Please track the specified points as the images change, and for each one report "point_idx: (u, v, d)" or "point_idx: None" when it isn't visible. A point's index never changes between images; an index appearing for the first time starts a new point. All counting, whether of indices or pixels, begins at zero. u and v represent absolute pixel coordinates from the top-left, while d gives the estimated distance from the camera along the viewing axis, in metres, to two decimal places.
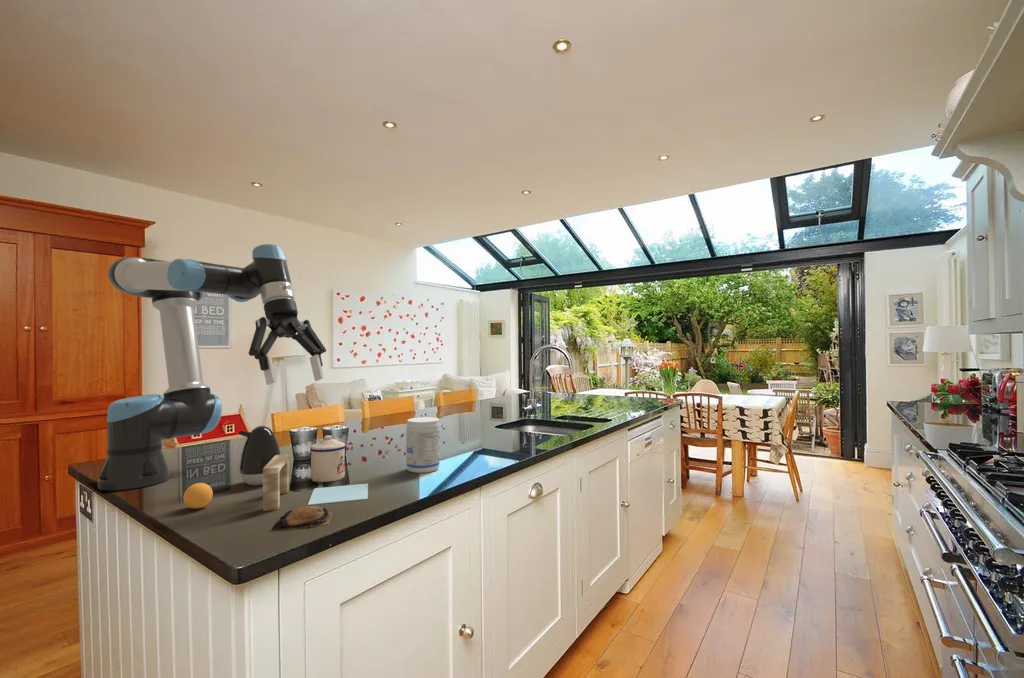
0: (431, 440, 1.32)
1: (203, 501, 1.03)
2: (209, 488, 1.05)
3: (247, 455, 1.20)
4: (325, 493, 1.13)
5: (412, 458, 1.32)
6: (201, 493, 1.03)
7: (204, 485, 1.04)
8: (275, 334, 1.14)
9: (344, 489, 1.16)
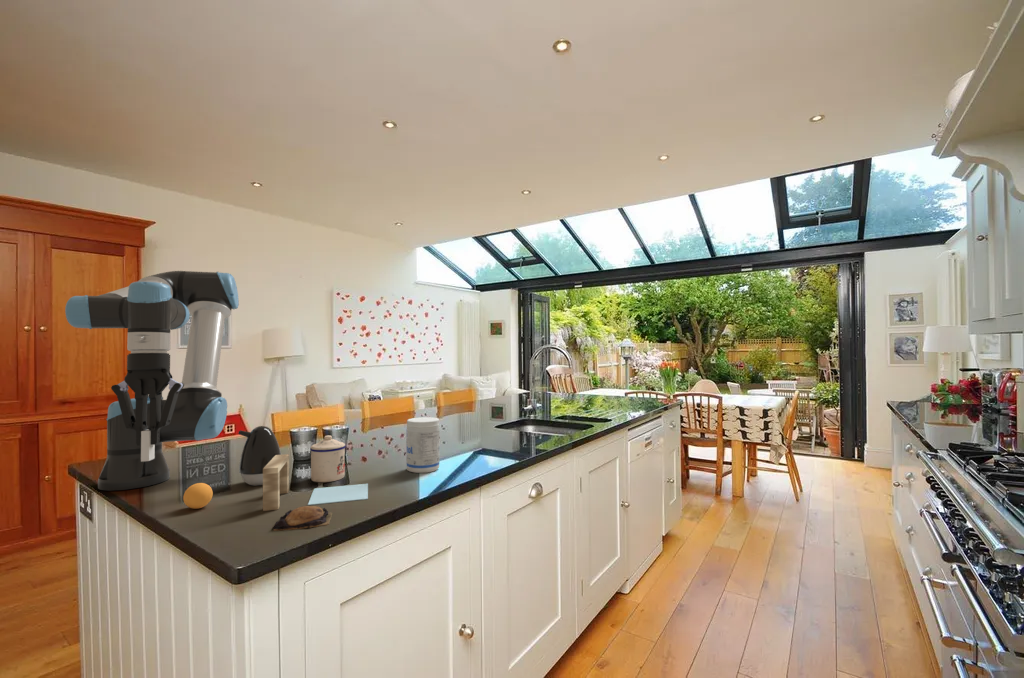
0: (431, 440, 1.32)
1: (203, 501, 1.03)
2: (209, 488, 1.05)
3: (247, 455, 1.20)
4: (325, 493, 1.13)
5: (412, 458, 1.32)
6: (201, 493, 1.03)
7: (204, 485, 1.04)
8: (137, 400, 1.00)
9: (344, 489, 1.16)
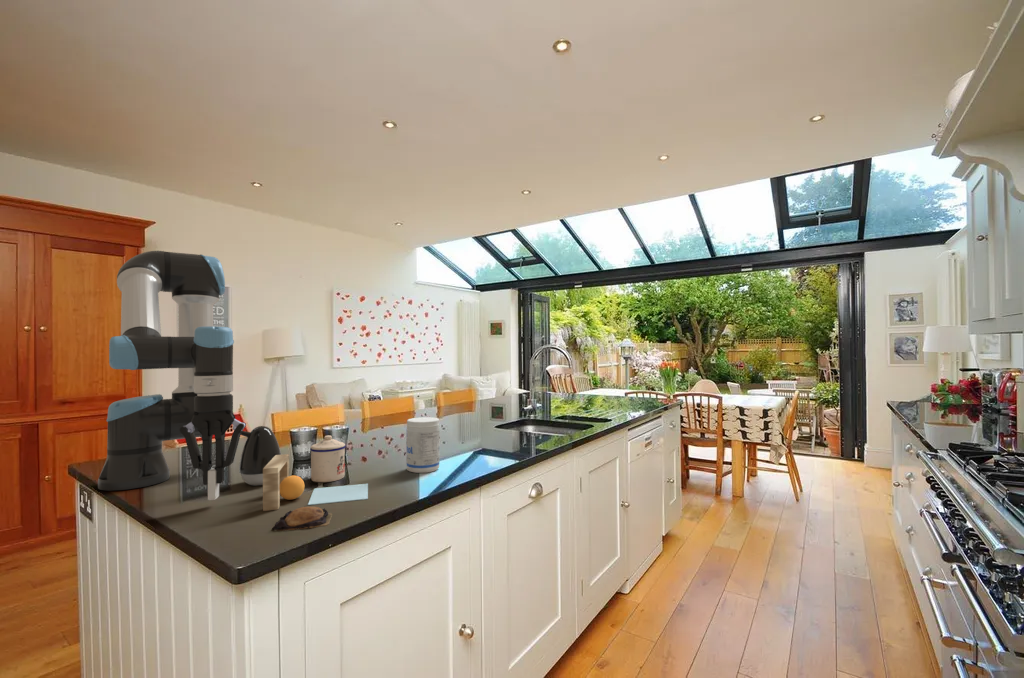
0: (431, 440, 1.32)
1: (295, 496, 1.08)
2: (304, 485, 1.10)
3: (247, 455, 1.20)
4: (325, 493, 1.13)
5: (412, 458, 1.32)
6: (297, 488, 1.08)
7: (302, 481, 1.10)
8: (204, 441, 1.04)
9: (344, 489, 1.16)
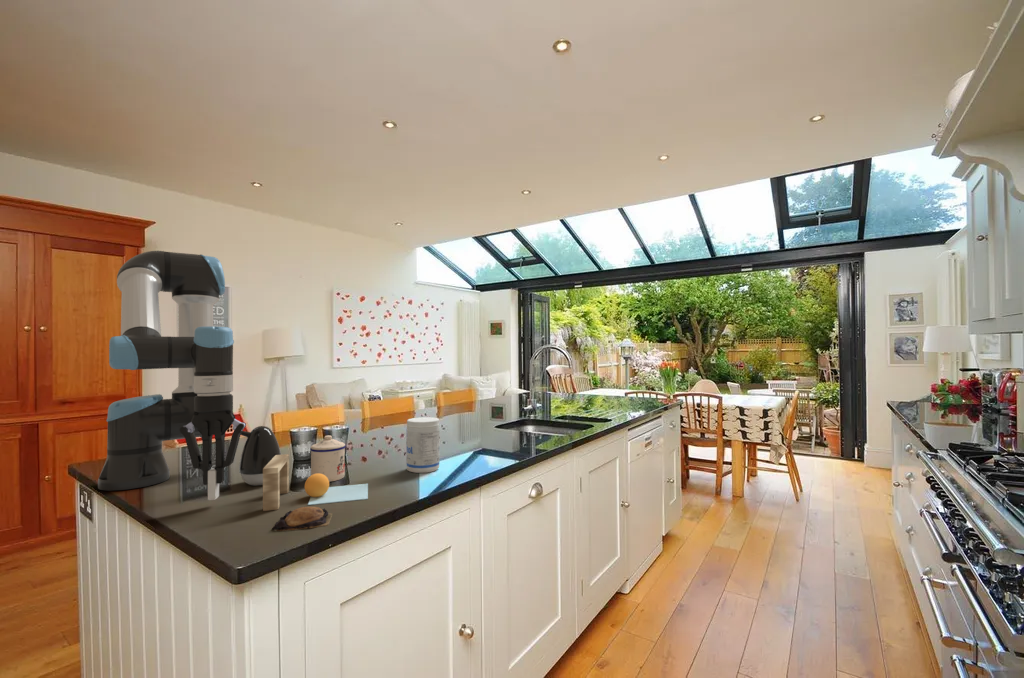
0: (431, 440, 1.32)
1: (307, 489, 1.09)
2: None
3: (247, 455, 1.20)
4: (325, 493, 1.13)
5: (412, 458, 1.32)
6: (313, 494, 1.09)
7: (317, 496, 1.11)
8: (204, 441, 1.04)
9: (344, 489, 1.16)
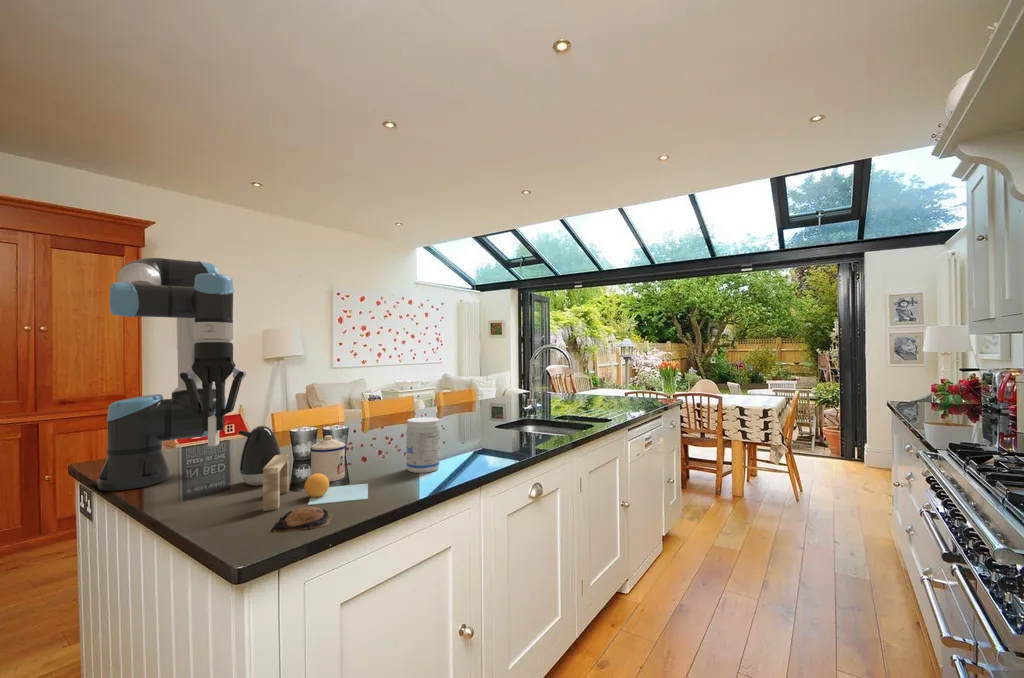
0: (431, 440, 1.32)
1: (307, 489, 1.09)
2: None
3: (247, 455, 1.20)
4: (325, 493, 1.13)
5: (412, 458, 1.32)
6: (313, 494, 1.09)
7: (317, 496, 1.11)
8: (204, 387, 1.04)
9: (344, 489, 1.16)
